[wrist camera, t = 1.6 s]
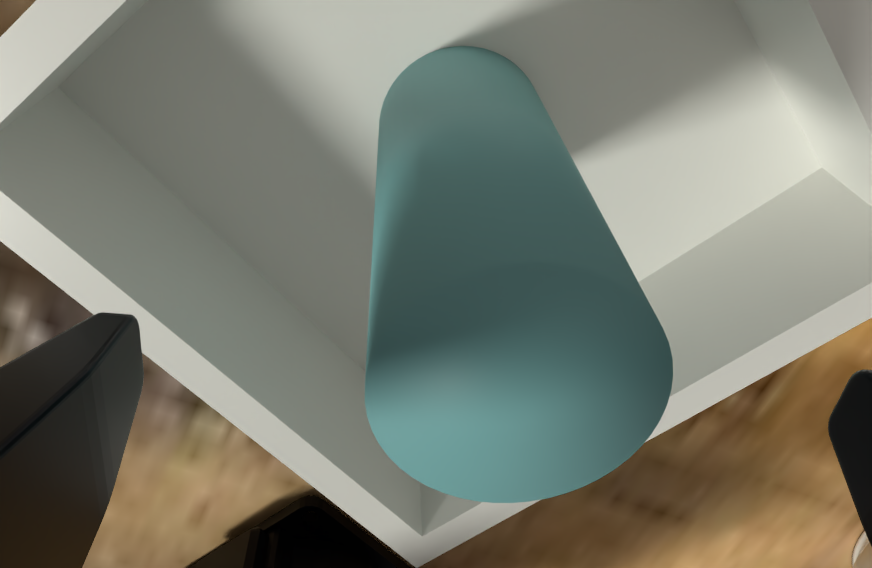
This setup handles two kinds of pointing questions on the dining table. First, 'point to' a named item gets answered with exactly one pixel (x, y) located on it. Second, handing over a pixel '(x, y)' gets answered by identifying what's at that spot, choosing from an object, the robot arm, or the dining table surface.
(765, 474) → the dining table surface
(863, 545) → the lidded jar
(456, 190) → the peg
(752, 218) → the open box
